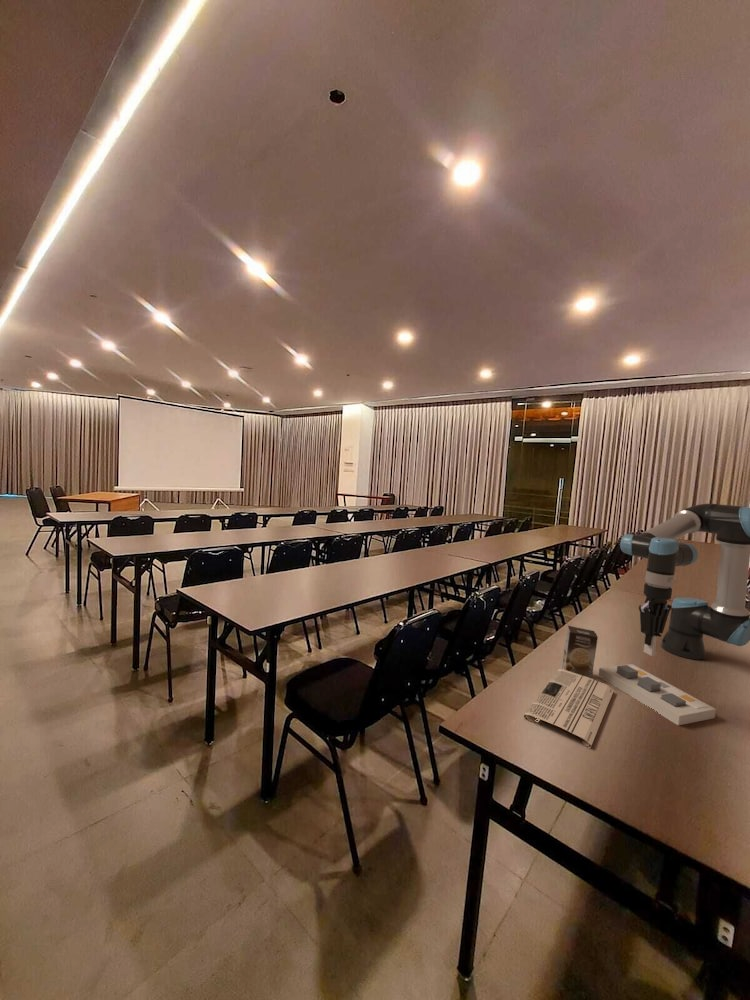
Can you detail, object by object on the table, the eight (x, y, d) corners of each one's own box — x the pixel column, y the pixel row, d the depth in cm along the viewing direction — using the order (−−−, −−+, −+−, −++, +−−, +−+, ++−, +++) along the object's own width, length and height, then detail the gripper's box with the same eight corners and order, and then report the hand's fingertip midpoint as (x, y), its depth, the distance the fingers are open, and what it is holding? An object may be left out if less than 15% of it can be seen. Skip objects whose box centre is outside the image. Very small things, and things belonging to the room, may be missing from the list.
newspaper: (557, 674, 145) (558, 666, 145) (619, 696, 133) (620, 688, 133) (523, 720, 116) (524, 711, 116) (597, 754, 104) (599, 744, 104)
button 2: (670, 702, 129) (671, 693, 129) (684, 711, 125) (686, 701, 124) (660, 704, 127) (661, 694, 127) (674, 713, 123) (676, 702, 123)
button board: (631, 671, 150) (632, 662, 150) (714, 718, 124) (716, 707, 123) (598, 675, 145) (599, 667, 145) (678, 725, 119) (679, 714, 118)
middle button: (646, 686, 136) (648, 676, 136) (659, 693, 132) (660, 683, 132) (637, 687, 135) (638, 678, 135) (649, 694, 131) (651, 685, 130)
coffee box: (563, 674, 144) (569, 631, 143) (561, 666, 150) (566, 625, 149) (592, 681, 141) (598, 637, 140) (589, 672, 147) (594, 630, 146)
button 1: (625, 673, 144) (626, 665, 144) (636, 680, 140) (638, 671, 139) (616, 675, 142) (617, 666, 142) (627, 681, 138) (628, 672, 138)
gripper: (656, 589, 126) (646, 661, 128) (683, 587, 131) (673, 656, 133) (633, 582, 133) (624, 650, 135) (660, 580, 138) (651, 646, 140)
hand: (648, 653), depth 134 cm, fingers closed
